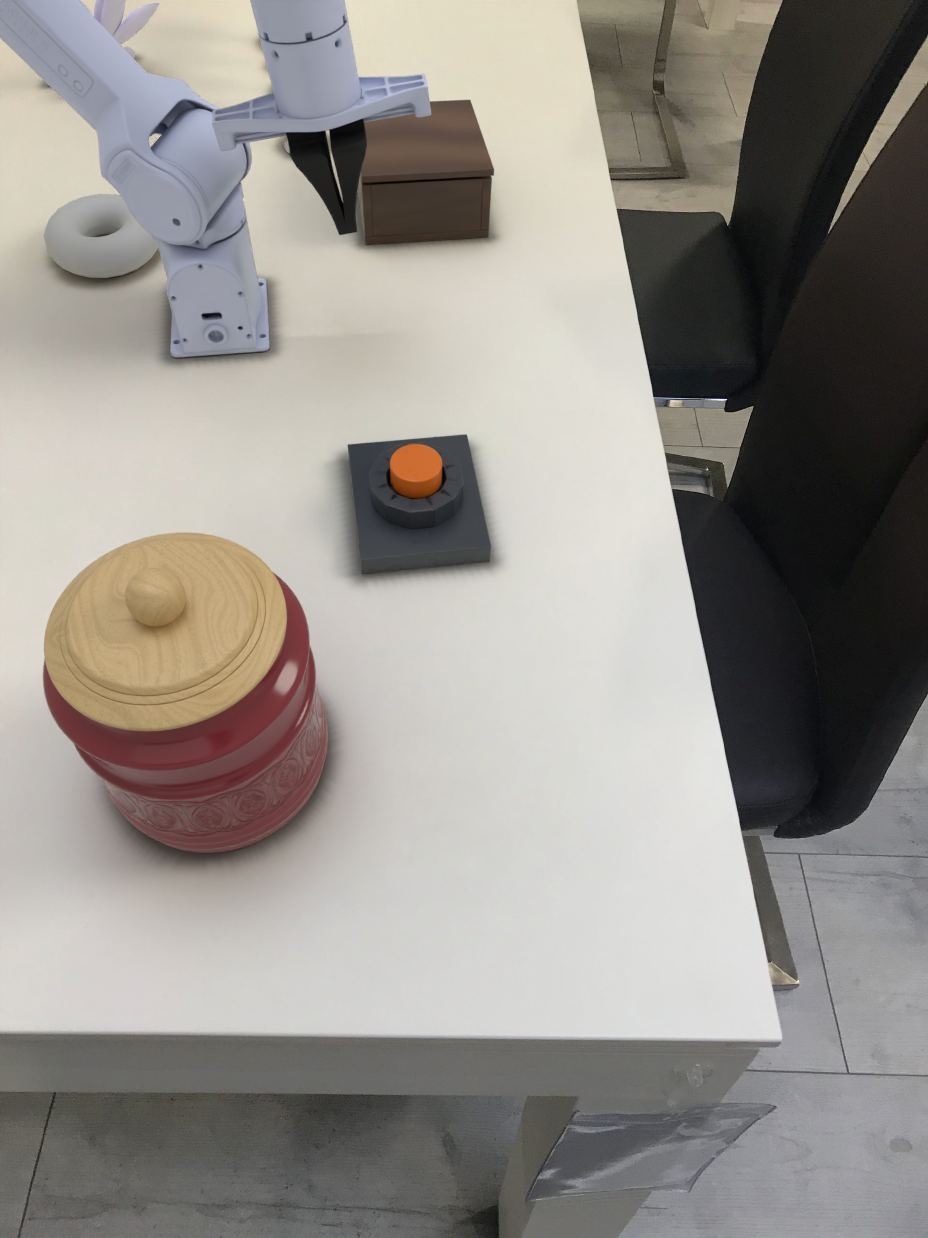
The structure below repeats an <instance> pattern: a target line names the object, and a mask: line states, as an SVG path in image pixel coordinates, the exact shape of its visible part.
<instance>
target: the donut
mask: <svg viewBox="0 0 928 1238" xmlns="http://www.w3.org/2000/svg"><path fill="white" fill-rule="evenodd" d="M43 239H44V243H45V248H46V251H47V253H48V255H49V257H50V258H51V259H52V260H53V261H54V262H55V263H56V265H58V266H59V267H60V268H61V269H63V270H66V271H68V272H69V273H71V274H73V275H76V276H80V277H85V278H90V279H109V278H114V277H119V276H124V275H127V274H129V273H131V272H134V271H137V270H139V269H140V268H141V267H143V266H144V265H146V264H147V263H149V261H151V259H152V258H153V257H154V255H156V252H157V251H159V248H158V244H157V240H155V239H153V238H152V235H151V234H150V233H149V232H148V231H146V230H145V229H144V228H143V227H142V226H141V225H140V224H139V223H138V222H137V221H136V219H135V218H134V217H133V215H132V214H131V212H130V210H129V209H128V207H127V205H126V203H125V201H124V200H123V198H122V197H121V195H120V194H116V193H97V194H92V195H86V196H82V197H79V198H76V199H74V200H71V201H69V202H67V203H65V204H64V205H62V206H61V207H59V208H57V210H56V211H55V212H53V214H52V215H51V216H50V218H49V219H48V221H47V223H46V225H45V228H44V233H43Z"/></svg>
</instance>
